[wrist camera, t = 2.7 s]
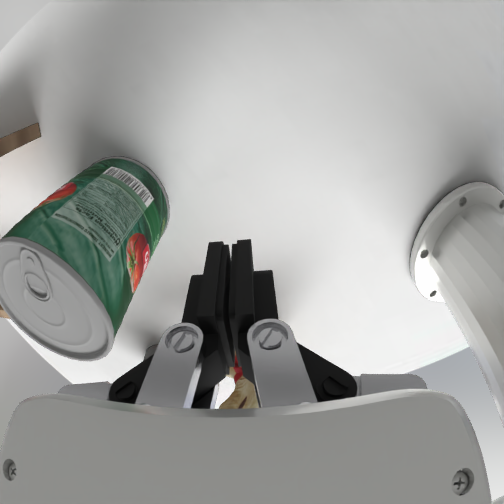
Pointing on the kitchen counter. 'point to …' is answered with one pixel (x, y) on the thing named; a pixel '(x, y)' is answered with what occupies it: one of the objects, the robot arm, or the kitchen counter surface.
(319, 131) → the kitchen counter surface
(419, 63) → the kitchen counter surface
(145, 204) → the canned tomato
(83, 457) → the robot arm
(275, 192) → the kitchen counter surface
